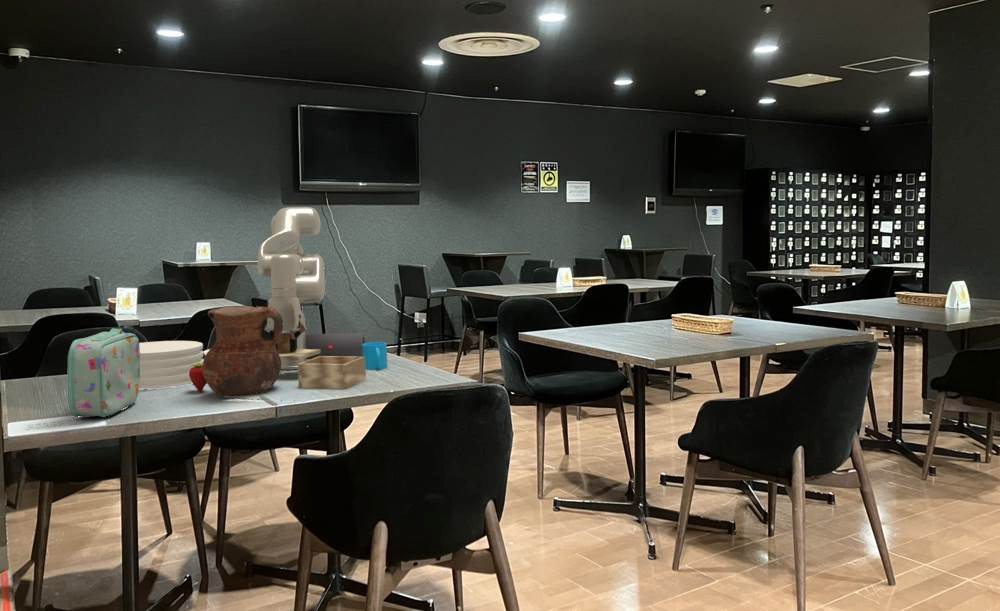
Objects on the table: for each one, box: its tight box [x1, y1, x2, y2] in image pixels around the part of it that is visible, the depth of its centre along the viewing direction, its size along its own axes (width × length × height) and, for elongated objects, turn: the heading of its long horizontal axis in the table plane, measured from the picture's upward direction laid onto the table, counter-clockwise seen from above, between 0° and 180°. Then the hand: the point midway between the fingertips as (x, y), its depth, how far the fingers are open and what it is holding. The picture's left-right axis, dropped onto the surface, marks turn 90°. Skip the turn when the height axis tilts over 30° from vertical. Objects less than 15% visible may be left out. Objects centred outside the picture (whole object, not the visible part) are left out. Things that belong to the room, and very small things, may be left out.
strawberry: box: [189, 357, 208, 392], centre depth 245 cm, size 6×8×10 cm
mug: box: [362, 341, 388, 371], centre depth 280 cm, size 12×8×8 cm
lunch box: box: [66, 327, 140, 418], centre depth 219 cm, size 27×10×21 cm, turn 4°
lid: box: [277, 333, 321, 360], centre depth 264 cm, size 16×16×7 cm
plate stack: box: [139, 340, 205, 388], centre depth 262 cm, size 28×28×12 cm
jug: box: [202, 305, 283, 399], centre depth 239 cm, size 22×21×25 cm
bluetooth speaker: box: [305, 332, 366, 360], centre depth 298 cm, size 23×9×10 cm, turn 95°
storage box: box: [297, 356, 367, 390], centre depth 248 cm, size 15×15×8 cm
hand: (286, 350), depth 264 cm, fingers closed on lid, 4 cm apart
